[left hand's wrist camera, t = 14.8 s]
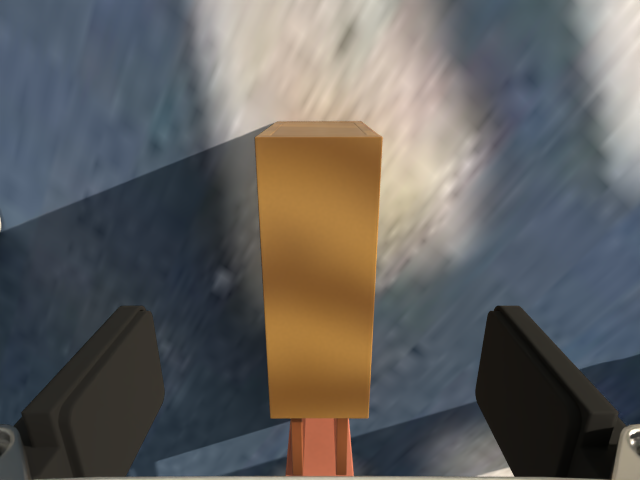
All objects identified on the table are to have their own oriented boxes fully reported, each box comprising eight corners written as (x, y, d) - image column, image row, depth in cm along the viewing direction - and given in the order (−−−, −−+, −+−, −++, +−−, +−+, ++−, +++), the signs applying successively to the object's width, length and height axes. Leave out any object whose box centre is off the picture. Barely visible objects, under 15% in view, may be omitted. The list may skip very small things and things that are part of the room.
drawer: (345, 455, 41) (352, 551, 32) (293, 455, 41) (286, 551, 32) (351, 246, 33) (362, 300, 25) (287, 246, 33) (275, 301, 25)
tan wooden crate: (354, 327, 37) (368, 418, 27) (283, 328, 37) (270, 418, 27) (361, 121, 31) (382, 136, 20) (276, 121, 31) (254, 137, 20)
